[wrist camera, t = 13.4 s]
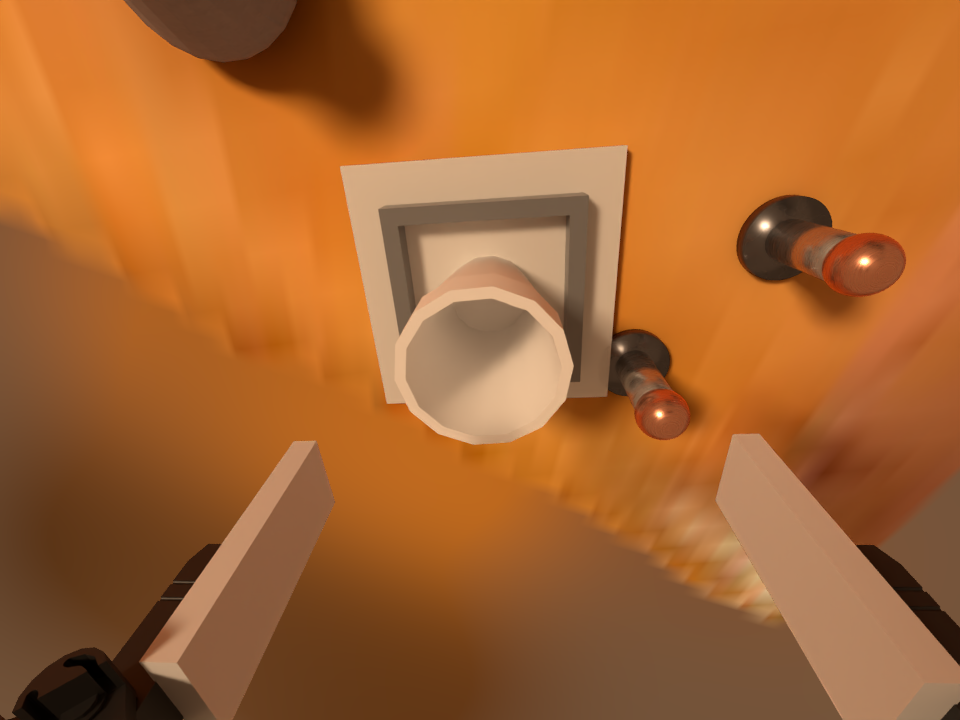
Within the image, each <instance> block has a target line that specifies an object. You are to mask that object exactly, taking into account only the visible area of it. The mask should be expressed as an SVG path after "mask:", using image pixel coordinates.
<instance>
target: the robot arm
mask: <svg viewBox="0 0 960 720" xmlns="http://www.w3.org/2000/svg"><path fill="white" fill-rule="evenodd" d="M715 501H716V503H717V504H718V506H719V508H720V509H721V511H722V513H723V515H724V516H725V518H726V520H727V522H728V523H729V525H730V527H731V528H732V530H733V532H734V534H735V535H736V537H737V539H738V540H739V542H740V544H741V546H742V547H743V549H744V551H745V552H746V554H747V556H748V558H749V559H750V561H751V563H752V565H753V566H754V568H755V570H756V571H757V573H758V575H759V577H760V578H761V580H762V582H763V583H764V585H765V587H766V589H767V590H768V592H769V594H770V595H771V597H772V599H773V601H774V602H775V604H776V606H777V608H778V609H779V611H780V613H781V614H782V616H783V618H784V620H785V621H786V623H787V625H788V626H789V628H790V630H791V632H792V633H793V635H794V637H795V639H796V640H797V642H798V644H799V645H800V647H801V649H802V650H803V652H804V654H805V655H806V657H807V659H808V661H809V663H810V664H811V666H812V668H813V669H814V671H815V673H816V675H817V676H818V678H819V680H820V681H821V683H822V685H823V687H824V688H825V690H826V692H827V694H828V695H829V697H830V698H831V700H832V702H833V704H834V706H835V707H836V709H837V711H838V712H839V714H840V716H841V718H842V719H843V720H960V627H959V626H958V625H957V624H956V623H955V622H954V621H953V620H952V619H951V618H950V617H949V616H948V615H947V614H946V612H944V611H941V609H940V606H939V605H938V604H937V603H936V602H935V601H934V599H933V598H932V597H931V596H930V595H929V594H928V593H927V592H924V591H923V590H922V587H921V586H920V584H918V582H917V581H916V580H915V579H914V578H913V577H912V576H911V575H910V574H909V573H908V572H907V571H906V569H905V568H904V567H903V566H902V565H901V564H900V563H898V562H897V561H895V560H894V559H892V558H891V557H890V556H888V555H887V554H885V553H884V552H883V551H881V550H880V549H878V548H877V547H876V546H874V545H855V544H854V543H853V542H852V541H851V540H850V538H849V537H848V536H847V535H846V534H845V533H844V531H843V530H842V529H841V528H840V527H839V526H838V525H837V523H836V522H835V521H834V520H833V519H832V518H831V516H830V515H829V514H828V513H827V512H826V511H825V509H824V508H823V507H822V506H821V505H820V504H819V502H818V501H817V500H816V499H815V498H814V497H813V496H812V494H811V493H810V492H809V491H808V490H807V489H806V487H805V486H804V485H803V484H802V483H801V482H800V480H799V479H798V478H797V477H796V476H795V475H794V474H793V472H792V471H791V470H790V469H789V468H788V467H787V465H786V464H785V463H784V462H783V461H782V460H781V458H780V457H779V456H778V455H777V454H776V453H775V451H774V450H773V449H772V448H771V447H770V446H769V445H768V443H767V442H766V441H765V440H764V439H763V438H762V436H761V435H760V434H733V436H732V439H731V443H730V447H729V451H728V455H727V458H726V462H725V466H724V470H723V473H722V477H721V481H720V485H719V488H718V492H717V496H716V500H715ZM334 503H335V501H334V497H333V494H332V491H331V488H330V484H329V481H328V477H327V474H326V471H325V468H324V464H323V461H322V458H321V455H320V451H319V448H318V444H317V441H294V442H293V444H292V445H291V446H290V448H289V449H288V451H287V452H286V453H285V455H284V456H283V458H282V459H281V461H280V462H279V463H278V465H277V466H276V468H275V469H274V470H273V472H272V473H271V475H270V476H269V478H268V479H267V480H266V482H265V483H264V485H263V486H262V488H261V489H260V490H259V492H258V493H257V495H256V496H255V498H254V499H253V501H252V502H251V503H250V505H249V506H248V507H247V509H246V510H245V512H244V513H243V515H242V516H241V518H240V519H239V520H238V522H237V523H236V525H235V526H234V527H233V529H232V530H231V532H230V533H229V535H228V536H227V537H226V539H225V540H224V542H223V543H222V544H208V545H206V546H205V547H204V548H203V549H202V550H200V551H199V552H198V553H197V554H196V555H195V556H193V557H192V558H191V559H190V560H189V561H188V562H187V563H186V564H185V566H184V567H183V568H182V570H181V571H180V572H179V574H178V575H177V576H176V578H175V579H174V580H173V581H174V582H173V584H171V585H170V586H169V587H168V588H167V590H166V591H165V592H164V594H163V595H162V596H161V600H160V601H158V602H157V603H156V604H155V606H154V607H153V608H152V610H151V611H150V612H149V613H148V615H147V616H146V618H145V619H144V620H143V622H142V623H141V624H140V625H139V627H138V628H137V629H136V631H135V632H134V633H133V635H132V636H131V637H130V639H129V640H128V641H127V643H126V644H125V645H124V647H123V648H122V649H121V651H120V652H119V653H118V654H117V656H116V657H115V658H114V660H113V661H111V660H110V659H109V658H108V657H107V655H106V654H105V653H104V652H103V651H101V650H99V649H97V648H85V649H80V650H78V651H75V652H72V653H70V654H67V655H65V656H63V657H62V658H60V659H59V660H57V661H56V662H54V663H52V664H51V665H49V666H48V667H47V668H45V669H44V670H43V671H42V672H41V673H40V674H39V675H38V676H37V677H35V678H34V679H33V680H32V681H31V683H30V684H29V685H28V686H27V687H26V689H25V690H24V691H23V693H22V694H21V695H20V696H19V698H18V700H17V702H16V705H15V707H14V709H13V711H12V713H13V714H14V715H15V716H16V717H15V718H12V719H8V720H183V719H184V720H232V719H233V717H234V715H235V713H236V711H237V709H238V707H239V705H240V702H241V700H242V698H243V696H244V694H245V692H246V690H247V688H248V686H249V683H250V681H251V679H252V677H253V675H254V673H255V670H256V669H257V666H258V664H259V662H260V660H261V658H262V656H263V654H264V652H265V650H266V647H267V645H268V643H269V641H270V639H271V637H272V635H273V633H274V630H275V628H276V626H277V624H278V622H279V620H280V618H281V615H282V613H283V611H284V609H285V607H286V605H287V603H288V601H289V599H290V597H291V594H292V592H293V590H294V588H295V586H296V584H297V582H298V580H299V577H300V575H301V573H302V571H303V569H304V567H305V565H306V563H307V561H308V558H309V556H310V554H311V552H312V550H313V548H314V545H315V544H316V541H317V539H318V537H319V535H320V533H321V531H322V529H323V527H324V524H325V522H326V520H327V518H328V516H329V514H330V512H331V510H332V507H333V505H334ZM0 720H5V719H4V718H3V717H2V716H1V715H0Z"/></svg>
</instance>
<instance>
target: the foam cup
mask: <svg viewBox="0 0 960 720" xmlns="http://www.w3.org/2000/svg"><path fill="white" fill-rule="evenodd" d="M573 367H574V365H573V362H572V358H571V355H570V351H569V348H568V344H567V341H566V337H565V334H564V330H563V327H562V324H561V321H560V318H559V315H558V313H557V312H556V311H555V310H554V309H553V308H552V307H551V306H550V305H549V303H548V302H547V301H546V300H545V299H544V298H543V297H542V296H541V295H540V294H539V293H538V292H537V291H536V290H535V288H534V287H533V286H532V284H531V283H530V282H529V280H528V279H527V278H526V276H525V275H524V274H523V273H522V272H521V271H520V270H519V269H518V268H517V267H516V266H515V265H514V264H513V263H512V262H511V261H509V260H506V259H503V258H500V257H498V256H495V255H491V256H482V257H475V258H474V259H472V260H470V261H469V262H467V263H466V264H464V265H462V266H461V267H460V268H458V269H457V270H456V271H455V272H454V273H453V274H452V275H451V276H450V277H449V278H447V279H446V280H445V281H444V282H443V283H442V284H441V285H440V286H439V287H437V288H436V289H434V290H433V291H431V292H429V293H428V294H426V295H425V296H423V297H422V298H421V300H420V302H419V303H418V305H417V307H416V308H415V310H414V312H413V314H412V315H411V317H410V319H409V320H408V322H407V324H406V326H405V327H404V329H403V331H402V333H401V335H400V337H399V338H398V340H397V342H396V344H395V382H396V384H397V386H398V388H399V390H400V392H401V394H402V396H403V398H404V400H405V402H406V404H407V406H408V408H409V410H410V412H412V413H413V414H414V415H415V416H417V417H418V418H419V419H420V420H422V421H423V422H424V423H425V424H427V425H428V426H429V427H430V428H432V429H433V430H434V431H435V432H437V433H438V434H440V435H444V436H447V437H450V438H454V439H457V440H460V441H463V442H467V443H470V444H473V445H474V444H489V443H505V442H511V441H513V440H516V439H518V438H520V437H522V436H524V435H526V434H528V433H531V432H533V431H535V430H537V429H539V428H541V427H543V426H544V425H545V423H546V422H547V421H548V420H549V419H550V418H551V416H552V415H553V414H554V413H555V412H556V411H557V410H558V408H559V407H560V406H561V405H562V404H563V403H564V401H565V400H566V396H567V392H568V388H569V384H570V379H571V375H572V371H573Z"/></svg>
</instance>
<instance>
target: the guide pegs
mask: <svg viewBox="0 0 960 720" xmlns="http://www.w3.org/2000/svg"><path fill="white" fill-rule="evenodd" d="M737 256H738V259H739V261H740V263H741V264H742V266H743V267H744V268H745V269H746V270H747V271H749V272H750V273H752V274H754V275H756V276H758V277H760V278H763V279H766V280H783V279H787V278H790V277H793V276H795V275H798V274H800V273H801V272H804V273H807V274H809V275H812V276H814V277H816V278H819V279H821V280H823V281H825V282H826V284H827V285H828V286H829V287H830V288H831V289H832V290H834V291H836V292H838V293H840V294H843V295H846V296H852V297H863V296H869V295H873V294H876V293H879V292H881V291H884V290H885V289H887V288H889V287H890V286H891V285H893V284H894V283H895V282H896V281H897V280H898V279H899V278H900V276H901V275H902V273H903V271H904V268H905V264H906V256H905V252H904V250H903V248H902V247H901V245H900V244H899V243H898V242H897V241H895V240H894V239H892V238H891V237H889V236H886V235H883V234H878V233H861V234H854V233H851V232H847V231H843V230H839V229H835V228H832V220H831V216H830V213H829V211H828V209H827V208H826V207H825V206H824V205H823V204H822V203H821V202H820V201H818V200H816V199H813V198H810V197H805V196H799V195H785V196H780V197H777V198H774V199H772V200H770V201H768V202H766V203H764V204H763V205H761V206H760V207H759V208H757V209H756V210H755V211H754V212H753V213H752V214H751V215H750V216H749V217H748V219H747V220H746V221H745V223H744V224H743V226H742V228H741V230H740V233H739V235H738V239H737ZM609 348H610V347H609ZM606 349H607V348H606ZM604 352H606V351H605V350H604ZM607 353H608V352H607ZM609 355H610V354H609ZM605 356H606V355H605ZM602 357H603V356H602ZM606 359H608V358H606ZM669 365H670V357H669V353H668V350H667V348H666V347H665V345H664V344H663V343H662V342H661V340H660V339H659V338H658V337H657V336H655V335H654V334H652V333H650V332H648V331H645V330H640V329H631V330H625V331H622V332H619V333H617V334H615V335H613V336H612V343H611V355H610V368H609V377H608V379H609V380H608V385H607V386H608V390H609V391H611V392H613V393H615V394H618V395H622V396H628V397H629V399H630V401H631V403H632V405H633V407H634V409H635V412H634V414H635V420H636V423H637V425H638V427H639V428H640V429H641V430H642V431H643V432H644V433H645V434H646V435H648V436H649V437H651V438H654V439H657V440H670V439H673V438H676V437H678V436H679V435H681V434H682V433H683V432H684V431H685V430H686V428H687V427H688V425H689V422H690V410H689V407H688V404H687V403H686V401H685V400H684V399H683V397H682V396H680V395H679V394H678V393H676V392H674V391H673V390H672V389H671V387H670V386H669V384H668V383H667V382H666V380H665V379H664V377H665V376H666V374H667V372H668V369H669ZM600 367H601V366H600ZM606 369H607V368H606ZM602 370H603V369H602ZM602 370H601V371H602ZM607 371H608V370H607ZM604 373H605V372H604ZM602 374H603V373H602ZM605 374H606V373H605ZM605 374H604V375H605ZM598 375H599V374H598ZM607 376H608V375H607ZM607 376H606V377H607ZM603 377H604V376H603ZM599 379H600V378H599ZM602 379H603V378H602ZM602 379H601V380H602ZM601 380H600V381H601ZM606 382H607V381H606Z"/></svg>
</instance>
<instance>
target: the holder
mask: <svg viewBox="0 0 960 720" xmlns="http://www.w3.org/2000/svg"><path fill="white" fill-rule="evenodd" d="M627 147H628V145H620V146H606V147H593V148H579V149H566V150H552V151H539V152H525V153H511V154H498V155H484V156H471V157H457V158H444V159H430V160H417V161H403V162H390V163H376V164H363V165H349V166H340V169H341V174H342V179H343V184H344V189H345V194H346V199H347V204H348V209H349V215H350V220H351V225H352V230H353V235H354V240H355V245H356V250H357V255H358V260H359V265H360V270H361V275H362V280H363V285H364V290H365V295H366V300H367V305H368V310H369V315H370V320H371V326H372V331H373V336H374V341H375V346H376V351H377V356H378V361H379V366H380V371H381V376H382V381H383V386H384V391H385V396H386V401H387V404H390V403H406V402H405V400H404V398H403V396H402V394H401V392H400V390H399V388H398V386H397V384H396V382H395V344H396V342H397V340H398V338H399V337H400V335H401V333H402V331H403V329H404V327H405V326H406V324H407V322H408V320H409V319H410V317H411V315H412V314H413V312H414V310H415V308H416V307H417V305H418V303H419V302H420V300H421V298H422V297H423V296H425V295H426V294H428V293H429V292H431V291H433V290H434V289H436V288H437V287H439V286H440V285H441V284H442V283H443V282H444V281H445V280H446V279H447V278H449V277H450V276H451V275H452V274H453V273H454V272H455V271H456V270H457V269H458V268H460V267H461V266H462V265H464V264H466V263H467V262H469V261H470V260H472V259H474V258H475V257H482V256H491V255H495V256H498V257H500V258H503V259H506V260H509V261H511V262H512V263H513V264H514V265H515V266H516V267H517V268H518V269H519V270H520V271H521V272H522V273H523V274H524V275H525V276H526V278H527V279H528V280H529V282H530V283H531V284H532V286H533V287H534V288H535V290H536V291H537V292H538V293H539V294H540V295H541V296H542V297H543V298H544V299H545V300H546V301H547V302H548V303H549V305H550V306H551V307H552V308H553V309H554V310H555V311H556V312H557V313H558V315H559V318H560V321H561V324H562V327H563V330H564V334H565V337H566V341H567V344H568V348H569V351H570V355H571V358H572V362H573V365H574V367H573V371H572V375H571V379H570V384H569V388H568V392H567V396H566V398H583V397H607V392H608V386H607V385H608V380H609V379H608V377H609V368H610V355H611V343H612V331H613V319H614V306H615V294H616V282H617V269H618V257H619V245H620V233H621V220H622V208H623V196H624V183H625V171H626V159H627ZM609 347H610V348H609ZM606 348H607V349H606ZM604 350H605V351H606V352H604ZM607 352H608V353H607ZM609 354H610V355H609ZM605 355H606V356H605ZM602 356H603V357H602ZM606 358H608V359H606ZM600 366H601V367H600ZM606 368H607V369H606ZM602 369H603V370H602ZM601 370H602V371H601ZM607 370H608V371H607ZM604 372H605V373H606V374H605V373H604ZM602 373H603V374H602ZM598 374H599V375H598ZM604 374H605V375H604ZM607 375H608V376H607ZM603 376H604V377H603ZM606 376H607V377H606ZM599 378H600V379H599ZM602 378H603V379H602ZM601 379H602V380H601ZM600 380H601V381H600ZM606 381H607V382H606Z"/></svg>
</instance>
